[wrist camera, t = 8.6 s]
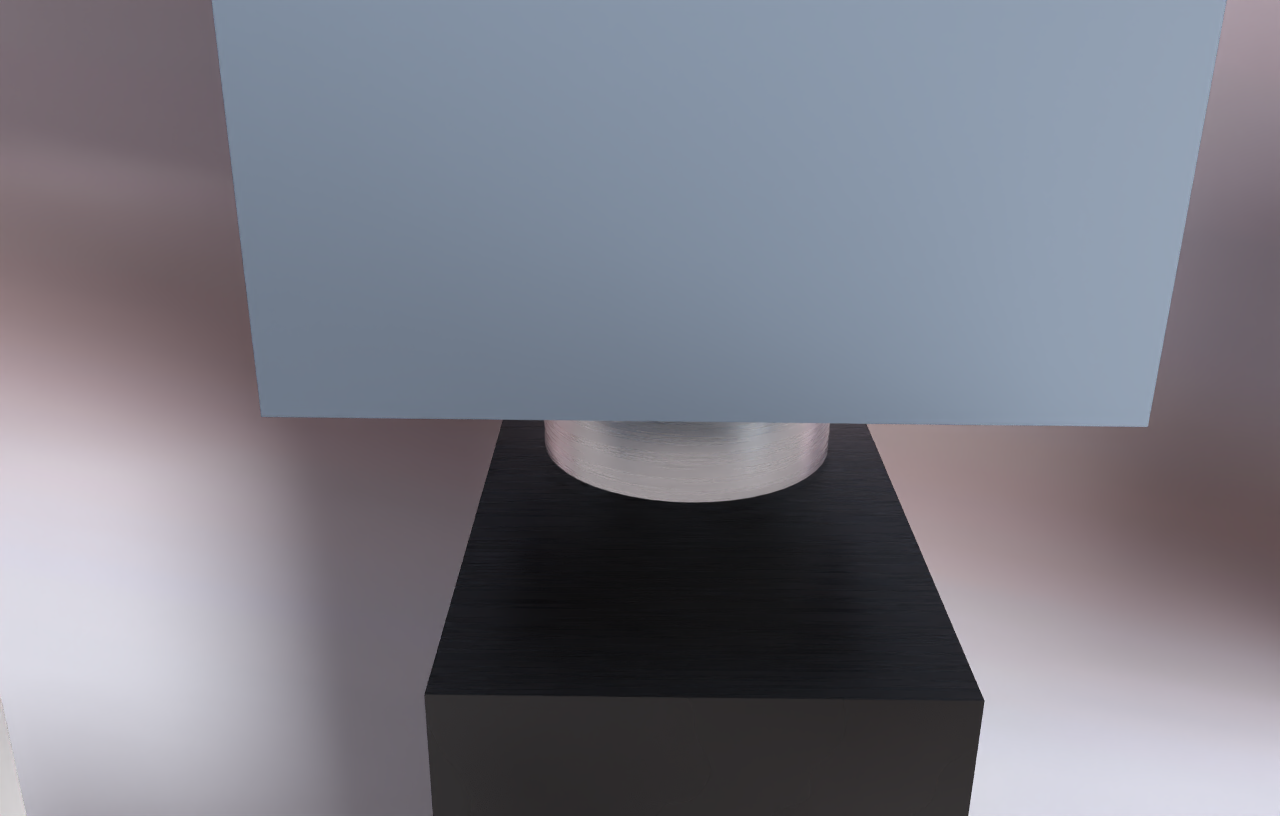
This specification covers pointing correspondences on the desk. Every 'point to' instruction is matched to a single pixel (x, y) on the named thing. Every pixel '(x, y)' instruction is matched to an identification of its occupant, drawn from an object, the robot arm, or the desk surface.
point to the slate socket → (714, 206)
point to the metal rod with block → (696, 632)
